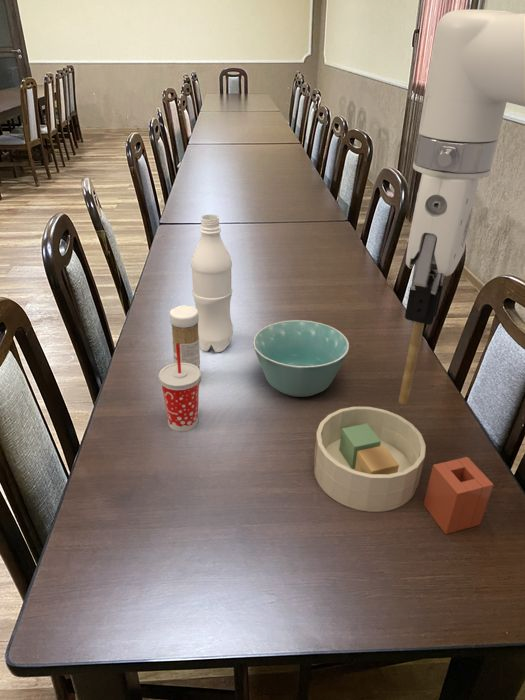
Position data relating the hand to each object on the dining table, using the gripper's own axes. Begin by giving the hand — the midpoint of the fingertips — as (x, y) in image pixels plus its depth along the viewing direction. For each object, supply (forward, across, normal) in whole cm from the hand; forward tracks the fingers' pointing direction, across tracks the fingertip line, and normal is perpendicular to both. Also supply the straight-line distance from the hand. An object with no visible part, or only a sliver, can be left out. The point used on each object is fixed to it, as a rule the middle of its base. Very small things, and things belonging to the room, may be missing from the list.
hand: (420, 316), depth 63 cm
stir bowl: (+24, -3, +3) cm, 24 cm away
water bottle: (+24, +16, +39) cm, 48 cm away
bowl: (+24, +12, +20) cm, 33 cm away
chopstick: (+13, 0, 0) cm, 13 cm away
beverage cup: (+24, -6, +31) cm, 40 cm away
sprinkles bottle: (+24, +4, +37) cm, 44 cm away
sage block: (+23, -1, +4) cm, 23 cm away
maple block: (+23, -5, +1) cm, 23 cm away
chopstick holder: (+24, -5, -9) cm, 26 cm away
